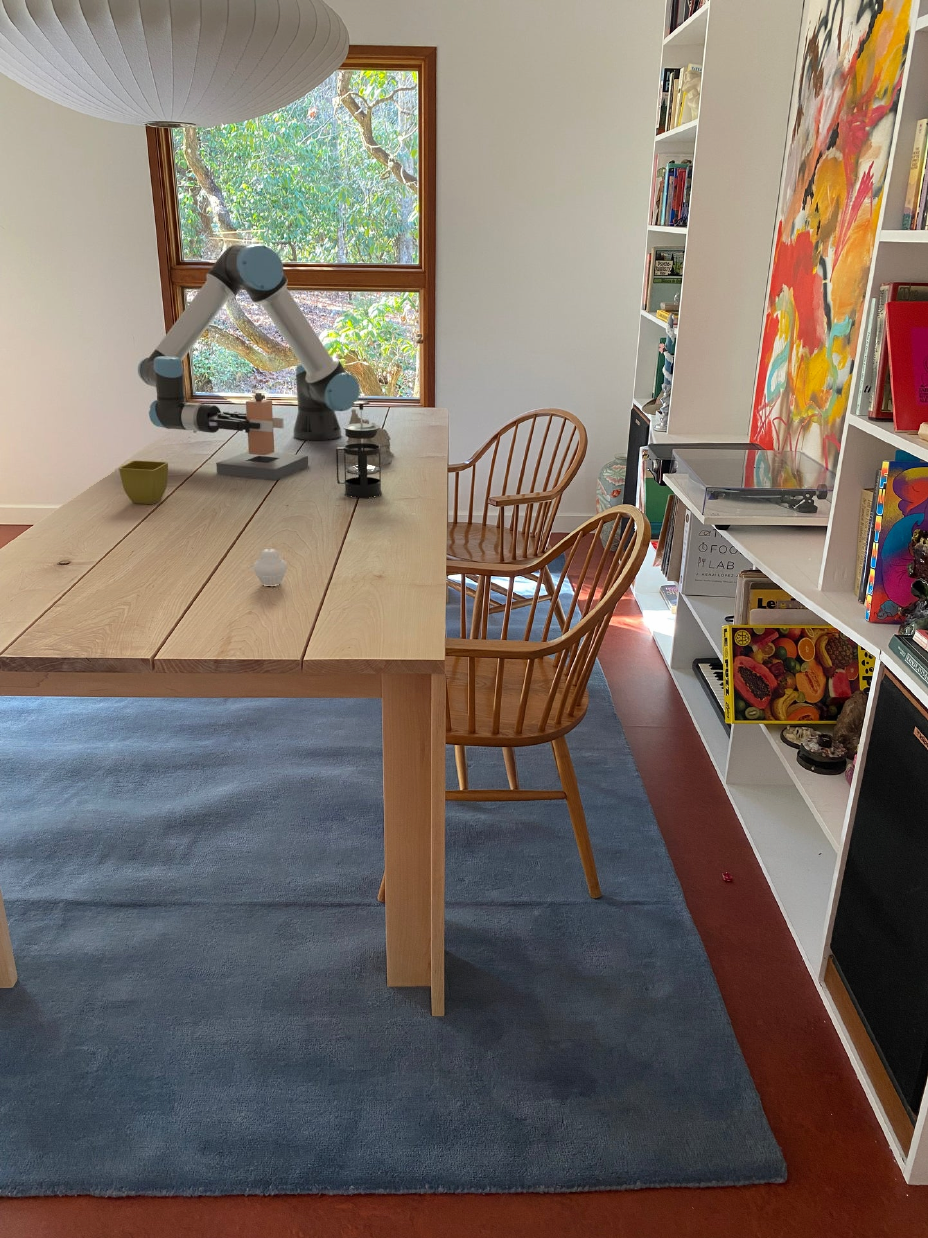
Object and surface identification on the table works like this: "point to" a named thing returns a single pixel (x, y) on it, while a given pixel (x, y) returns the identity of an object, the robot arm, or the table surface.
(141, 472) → the flower pot
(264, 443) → the plug
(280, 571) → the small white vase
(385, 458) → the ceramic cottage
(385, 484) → the table surface
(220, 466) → the socket
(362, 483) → the french press
